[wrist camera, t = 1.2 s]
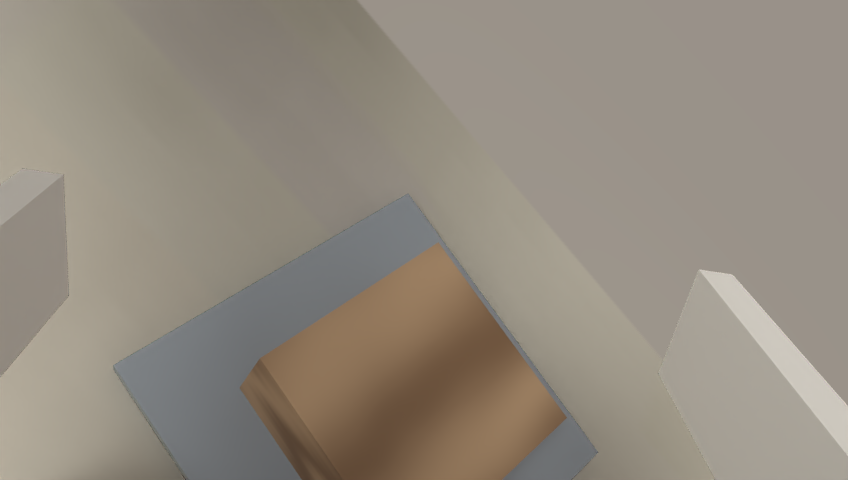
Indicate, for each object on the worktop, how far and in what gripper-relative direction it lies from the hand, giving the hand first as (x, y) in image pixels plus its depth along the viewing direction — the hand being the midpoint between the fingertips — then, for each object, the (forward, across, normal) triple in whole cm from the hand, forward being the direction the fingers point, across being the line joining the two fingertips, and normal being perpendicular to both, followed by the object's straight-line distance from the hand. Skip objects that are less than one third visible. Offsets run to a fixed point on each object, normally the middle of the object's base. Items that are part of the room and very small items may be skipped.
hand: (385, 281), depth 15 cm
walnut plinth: (+16, +2, -17) cm, 23 cm away
